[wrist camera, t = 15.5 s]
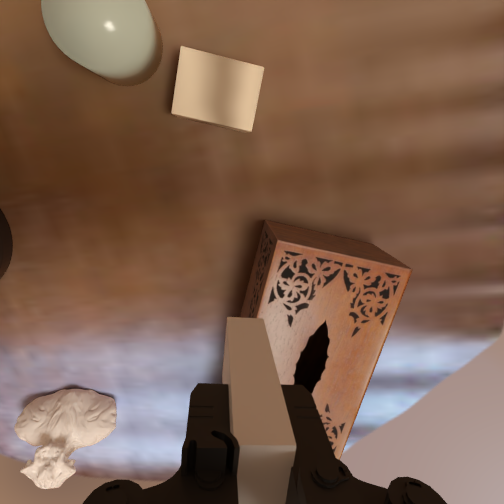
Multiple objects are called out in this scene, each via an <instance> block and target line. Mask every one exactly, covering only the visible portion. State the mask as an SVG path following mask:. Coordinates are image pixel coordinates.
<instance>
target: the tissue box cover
mask: <svg viewBox="0 0 504 504" xmlns="http://www.w3.org/2000/svg"><path fill="white" fill-rule="evenodd" d="M411 273H412V269H411V268H409V267H408V266H406V265H405V264H403V263H402V262H400V261H398V260H397V259H395V258H394V257H392V256H391V255H389V254H387V253H386V252H384V251H383V250H381V249H380V248H378V247H377V246H375V245H373V244H369V243H365V242H360V241H356V240H352V239H347V238H343V237H338V236H334V235H330V234H325V233H321V232H316V231H312V230H308V229H303V228H299V227H294V226H290V225H286V224H281V223H277V222H272V221H268V220H265V222H264V226H263V229H262V233H261V237H260V241H259V245H258V249H257V253H256V257H255V260H254V264H253V268H252V272H251V276H250V280H249V284H248V287H247V291H246V295H245V299H244V303H243V307H242V311H241V314H240V318H261V319H264V323H265V327H266V331H267V334H268V338H269V342H270V346H271V350H272V354H273V357H274V361H275V365H276V369H277V373H278V377H279V380H280V384H286V385H303V386H304V387H305V388H306V389H307V390H308V391H309V392H310V393H311V394H312V396H313V399H314V401H315V404H316V407H317V409H318V412H319V414H320V419H321V420H322V422H323V425H324V428H325V430H326V433H327V436H328V438H329V441H330V444H331V446H332V449H333V452H334V454H335V457H336V458H337V459H339V460H340V457H341V455H342V452H343V450H344V447H345V445H346V442H347V439H348V437H349V434H350V432H351V429H352V426H353V424H354V421H355V419H356V416H357V413H358V411H359V408H360V405H361V403H362V400H363V398H364V395H365V392H366V390H367V387H368V385H369V382H370V379H371V377H372V374H373V372H374V369H375V366H376V364H377V361H378V359H379V356H380V353H381V351H382V348H383V346H384V343H385V340H386V338H387V335H388V332H389V330H390V327H391V325H392V322H393V319H394V317H395V314H396V312H397V309H398V306H399V304H400V301H401V299H402V296H403V293H404V291H405V288H406V286H407V283H408V280H409V278H410V275H411Z"/></svg>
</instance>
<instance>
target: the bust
mask: <svg viewBox="0 0 504 504" xmlns="http://www.w3.org/2000/svg"><path fill="white" fill-rule="evenodd" d="M116 417H117V413H116V403H115V400H114V399H113V398H111V397H108V396H105V395H101V394H98V393H97V392H95V391H93V390H90V389H89V390H83V389H69V390H66V389H63V390H60V391H58V392H56V393H54V394H50V395H46V396H42V397H38V398H36V399H35V400H33V401H32V402H31V403H29V404H28V405H27V406H26V407H25V408H24V410H23V412H22V413H21V415H20V416H19V417H18V419H17V423H16V424H15V432H16V433H17V435H18V437H19V438H20V439H22V440H24V441H26V442H28V443H29V444H31V445H33V446H40V445H43V446H42V447H39V448H37V450H36V453H35V459H34V462H33V463H32V461H31V460H28V461H27V464H26V466H25V467H24V468H22V469H21V471H20V472H21V473H24V474H25V475H26V476H27V477H28V478H30V479H31V480H33V481H34V483H35V484H36V486H37V487H39V488H42V489H44V488H46V489H48V488H58V487H60V486H61V485H62V483H63V482H64V481H65V480H66V479H67V478H69V477H70V476H72V475H73V474H74V473H75V472H76V468H75V467H74V466H73V464H74V463H75V460H73V459H71V460H70V459H68V457H69V456H70V455H71V453H72V452H74V451H75V450H76V449H78V448H81V447H85V446H91V445H93V444H96V443H98V442H99V441H101V440H102V439H104V438H106V437H107V436H108V435H109V434H110V433H111V432H112V431H113V430H114V429H115V427H116Z"/></svg>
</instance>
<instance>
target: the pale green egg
mask: <svg viewBox="0 0 504 504" xmlns="http://www.w3.org/2000/svg"><path fill="white" fill-rule="evenodd" d="M41 7H42V15H43V19H44V22H45V25H46V28H47V30H48V32H49V34H50V36H51V38H52V39H53V41H54V43H55V44H56V45H57V46H58V48H59V49H60V50H61V51H62V52H63V53H64V54H65V55H67V56H68V57H69V58H70V59H72V60H74V61H75V62H77V63H79V64H80V65H82V66H84V67H85V68H87V69H89V70H91V71H92V72H94V73H96V74H97V75H99V76H101V77H103V78H104V79H106V80H108V81H110V82H112V83H114V84H117V85H122V86H134V85H138V84H141V83H143V82H145V81H146V80H148V79H149V78H150V77H151V76H152V75H153V74H154V73H155V72H156V70H157V69H158V67H159V65H160V62H161V58H162V52H163V43H162V37H161V33H160V30H159V28H158V26H157V24H156V22H155V20H154V18H153V16H152V14H151V12H150V10H149V8H148V6H147V4H146V2H145V0H41Z"/></svg>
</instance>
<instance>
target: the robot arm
mask: <svg viewBox="0 0 504 504" xmlns="http://www.w3.org/2000/svg"><path fill="white" fill-rule="evenodd" d="M11 255H12V237H11V232H10V228H9V225H8V223H7V220H6V218H5V216H4V215H3V213H2V211H1V210H0V279H1V277H2V276H3V275H4V273H5V272H6V270H7V268H8V266H9V263H10V260H11ZM222 383H223V384H207V383H198V384H197V386H196V387H195V388H194V390H193V391H192V392H191V395H190V404H189V414H188V423H187V432H186V439H185V441H184V444H183V447H182V459H181V466H180V468H179V470H178V471H177V472H176V473H175V474H174V476H173V477H171V478H170V479H168V480H167V481H165V482H163V483H161V484H159V485H156V486H153V487H150V488H147V489H142V488H141V487H140V486H139V484H137V483H135V482H132V481H130V480H114V481H111V482H107V483H105V484H103V485H102V486H100V487H98V488H97V489H95V490H94V491H93V492H92V493H91V494H90V495H89V496H88V498H87V499H86V500H85V501H84V503H83V504H447V503H446V502H445V501H444V500H443V499H442V497H441V496H440V495H439V494H438V493H436V492H435V491H434V490H433V489H432V488H431V487H430V486H428V485H427V484H425V483H423V482H421V481H420V480H417V479H413V478H410V477H398V478H396V479H395V480H393V481H391V483H390V485H389V487H388V489H386V488H383V487H379V486H376V485H372V484H369V483H366V482H363V481H361V480H358V479H357V478H355V477H353V476H352V474H351V473H350V471H349V469H348V467H347V466H346V465H345V464H343V463H342V462H341V461H340V460H339V459H337V458H336V457H335V454H334V452H333V449H332V446H331V444H330V441H329V438H328V436H327V433H326V430H325V428H324V425H323V422H322V420H321V419H320V414H319V412H318V409H317V407H316V404H315V401H314V399H313V396H312V394H311V393H310V392H309V391H308V390H307V389H306V388H305V387H304V386H303V385H286V384H280V380H279V377H278V373H277V369H276V365H275V361H274V357H273V354H272V350H271V346H270V342H269V338H268V334H267V331H266V327H265V323H264V319H261V318H240V317H227V326H226V338H225V349H224V361H223V372H222Z"/></svg>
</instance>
